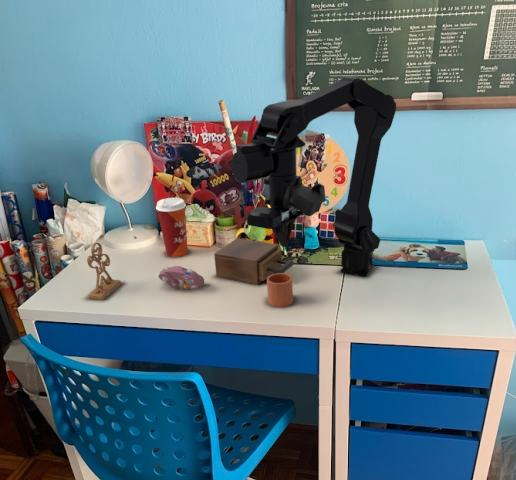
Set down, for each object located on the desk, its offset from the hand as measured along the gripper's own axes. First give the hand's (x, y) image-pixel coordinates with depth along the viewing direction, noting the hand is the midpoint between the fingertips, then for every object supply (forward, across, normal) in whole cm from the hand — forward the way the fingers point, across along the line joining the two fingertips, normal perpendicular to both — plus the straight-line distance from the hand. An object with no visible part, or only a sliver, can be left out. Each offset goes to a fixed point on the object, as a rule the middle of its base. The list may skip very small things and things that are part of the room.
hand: (284, 246), depth 125 cm
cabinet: (+12, +7, +15) cm, 21 cm away
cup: (+12, -2, 0) cm, 12 cm away
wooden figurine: (+12, -17, +40) cm, 45 cm away
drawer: (+11, +8, +12) cm, 18 cm away
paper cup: (+12, +9, +40) cm, 42 cm away
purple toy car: (+12, -7, +24) cm, 28 cm away
